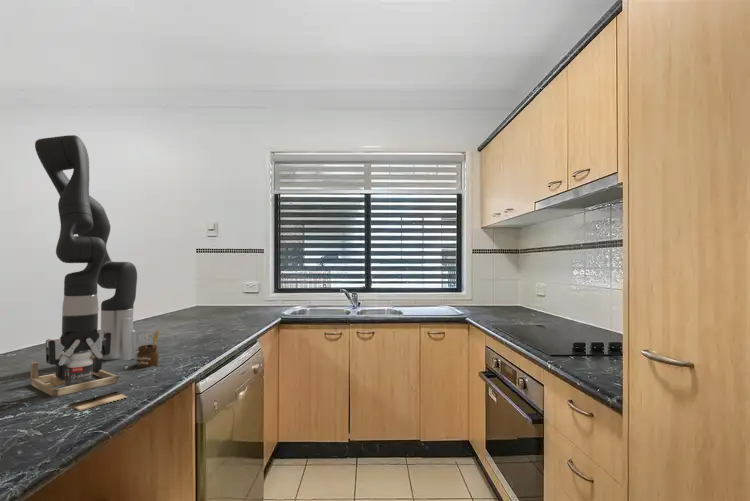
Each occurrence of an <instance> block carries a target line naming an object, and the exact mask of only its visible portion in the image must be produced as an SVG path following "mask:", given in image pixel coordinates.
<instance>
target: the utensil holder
mask: <svg viewBox="0 0 750 501" xmlns="http://www.w3.org/2000/svg"><path fill="white" fill-rule="evenodd" d="M159 332H160V330H155V331H154V333H153V337H152V341H153V343H152V344H148V343H146V344H145V342H143V344H142V342H141V340H144V335H145V337H146V340H148V338H149V336H148V335H147V333H144V335H142V334H139V345H140V346H138V348H137V349H138V350H137V351H138V352H137V354H136V366H137V367H140V368H143V367H144V368H145V367H156V368H157V367H159V352H158V345H157V344H155V343H156V342H157V340H158V336H159ZM141 335H142V337H143V338H142V337H141Z"/></svg>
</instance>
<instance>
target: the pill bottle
mask: <svg viewBox="0 0 750 501" xmlns="http://www.w3.org/2000/svg"><path fill="white" fill-rule="evenodd" d="M90 356H91V351H89V350H88V351H80V352H76V353H72V354H71V356H70V357H68V359H69V361H68V362H66V364H65V371H66V376H65V384H64V387H67V386H71V385H76V384H81V383H85V382H90V381H93V376H94V374H93V361H92V360H91V359H90Z"/></svg>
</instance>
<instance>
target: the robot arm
mask: <svg viewBox="0 0 750 501" xmlns="http://www.w3.org/2000/svg"><path fill="white" fill-rule="evenodd" d="M34 142H35V143H34V148H35V152H36V155H37V157H38V159H39V161H40V163H41V165H42V167H43V169H44V171H45V173H46V174H47V176H48V177H49V179H50V181H51V182H52V185H53V186H54V188H55V189H56V191H57V193H58V195H59V199H58V203H57V204H58V205H57V208H58V215H59V222H60V232H59V237H58V241H57V244H56V247H55V254H56V257H57V259H59V261H61V262H62V263H65V264H86V266H85V268H84V269H82V270H78V271H73V272H71V273H67V274H65V276H64V280H63V281H64V282H63V283H64V285H63V286H64V287H63V300H62V301H63V302H62V308H61V311H62V312H61V319H62V320H61V335H60V337H59V338H55V339H50V338H49V339H46V341H45V362H46V363H47V364H50V365H53V366H55V373H56V377H57V378H58V379H59V380H65V371H66V364H65V363H67V362H66V361H68V359H69V357H70V356H71V354H72V353H76V352H80V351H91V353H92V354H93V356H94V358H93V372H94V373H98V372H99V370H102V363H103V360H105V361H106V360H107V361H108V360H118V359H120V360H125V361H130V360H133V359H136V333H137V332H136V330H135V329H134V304H135V301H136V299H137V298H136V297H137V296H136V295H137V283H138V273H137V268H136V266H135V264H133V263H132V262H129V261H112V259H111V258H110V255H109V253H108V250H107V244H108V239H109V237H110V233H111V223H110V220H109V217H108V215H107V213H106V210H105V208H104V206H103V205H102V204H101V203H100V202H99V201H98V200H96V199H95V198H94V197H92V196H91V195H90V160H89V159H90V158H89V153H88V149H87V147H86V145H85V143H84V142H83V140H82V139H81V137H79V136H77V135H75V134H72V135H71V134H69V135H61V136H52V137H45V138H40V139H39V138H38V139H37V140H35V141H34ZM68 170H73V171H72V175H71V176H70V179H69V177H68V176H67V175H66V174H65V172H64V171H68ZM76 235H77V236H76ZM98 286H99V287H101V288H103V289H107V290H114V291H115V292H114V295H113V296H112V297H109V298H108V299H104V300H103V301H102V302H101V304H100V332H99V331H98V329H99V300H98ZM98 340H100V345H99V346H100V347H99V348H98V346H97V345H96V342H97V341H98ZM60 344H61V345H62V346H63V348H62V349H61V351H60V352H59V355H58V356H57V355H56V348H58V347H59V345H60ZM56 356H57V357H56Z"/></svg>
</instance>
